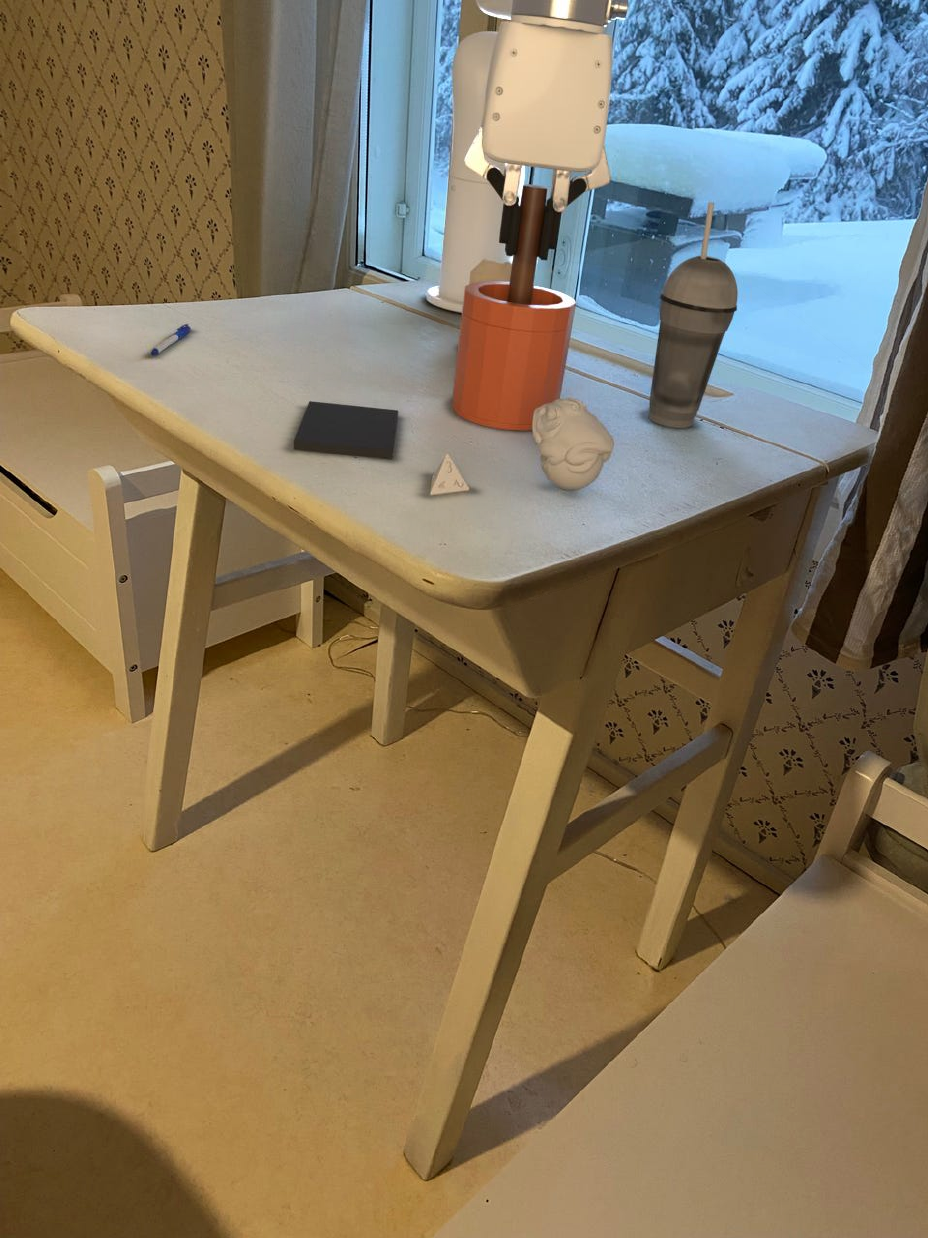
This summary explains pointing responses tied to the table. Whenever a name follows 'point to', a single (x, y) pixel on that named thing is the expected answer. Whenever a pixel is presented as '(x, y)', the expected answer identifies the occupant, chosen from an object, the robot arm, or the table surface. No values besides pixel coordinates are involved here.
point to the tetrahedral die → (447, 478)
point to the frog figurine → (570, 443)
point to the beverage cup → (690, 334)
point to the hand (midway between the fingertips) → (525, 253)
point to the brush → (527, 244)
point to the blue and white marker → (171, 339)
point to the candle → (491, 272)
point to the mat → (347, 430)
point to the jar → (510, 354)
